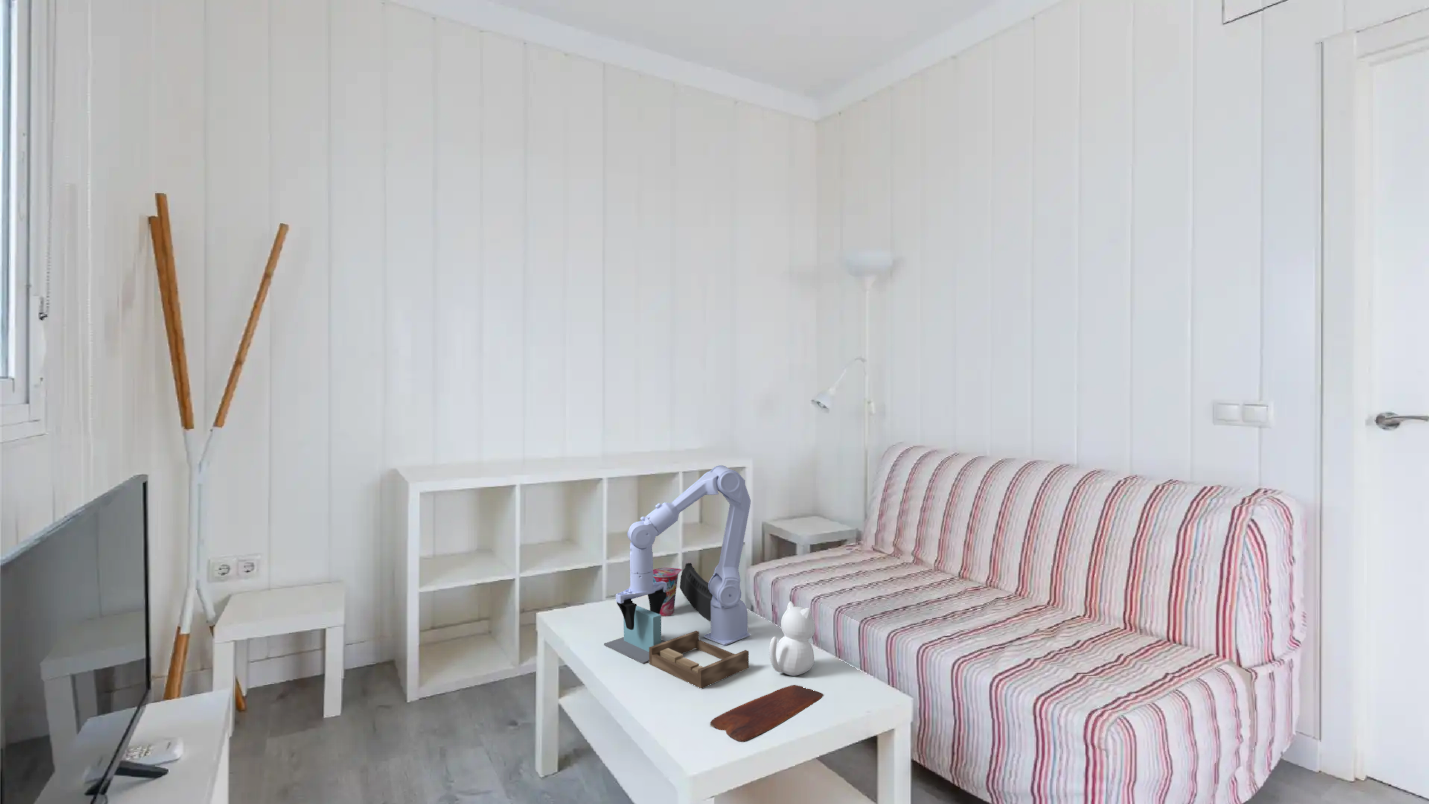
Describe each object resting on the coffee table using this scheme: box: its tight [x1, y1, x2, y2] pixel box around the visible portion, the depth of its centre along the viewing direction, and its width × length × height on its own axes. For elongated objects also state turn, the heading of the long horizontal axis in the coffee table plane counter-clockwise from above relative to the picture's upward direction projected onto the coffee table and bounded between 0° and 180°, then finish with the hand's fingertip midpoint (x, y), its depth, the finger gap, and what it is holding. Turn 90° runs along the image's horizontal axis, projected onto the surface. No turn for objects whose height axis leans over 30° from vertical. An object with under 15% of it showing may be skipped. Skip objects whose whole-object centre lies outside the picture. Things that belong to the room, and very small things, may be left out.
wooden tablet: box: [709, 684, 824, 743], centre depth 142 cm, size 27×10×2 cm, turn 134°
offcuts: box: [660, 648, 703, 673], centre depth 161 cm, size 2×15×3 cm, turn 44°
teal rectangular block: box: [623, 605, 662, 652], centre depth 175 cm, size 2×12×9 cm, turn 44°
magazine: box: [679, 562, 713, 622], centre depth 200 cm, size 17×3×30 cm
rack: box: [648, 630, 750, 689], centre depth 163 cm, size 15×18×4 cm
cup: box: [653, 567, 683, 617], centre depth 199 cm, size 9×8×12 cm
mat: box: [603, 636, 667, 665], centre depth 175 cm, size 12×16×1 cm
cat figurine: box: [768, 600, 816, 677], centre depth 160 cm, size 9×12×15 cm
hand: (642, 624), depth 175 cm, fingers open, 7 cm apart
